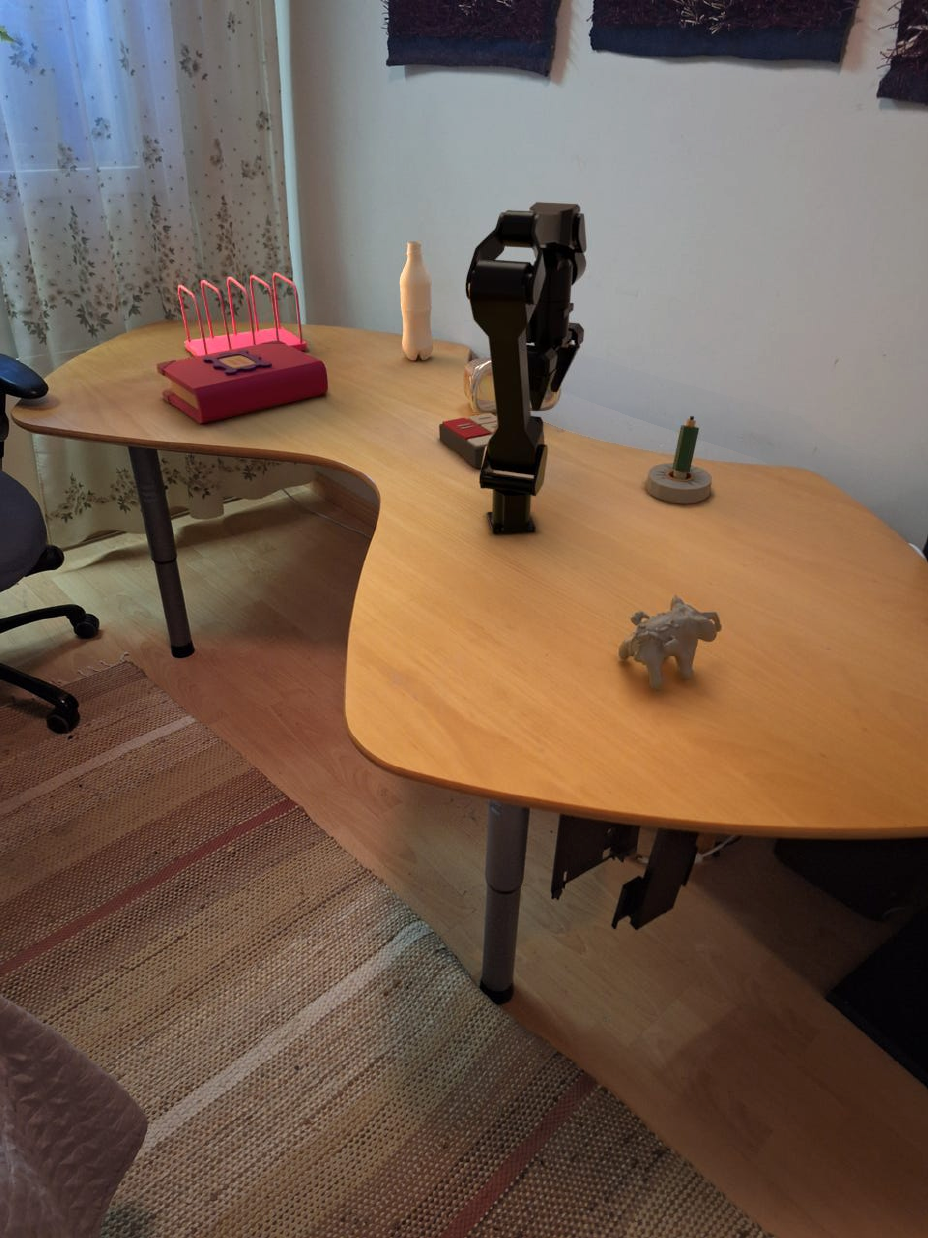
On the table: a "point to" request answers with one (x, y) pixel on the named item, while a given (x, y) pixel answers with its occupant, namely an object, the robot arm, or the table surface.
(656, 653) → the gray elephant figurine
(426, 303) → the water bottle
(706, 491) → the tape
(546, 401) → the diving goggles
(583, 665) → the table surface
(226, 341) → the file sorter
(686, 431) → the pencil
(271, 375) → the book
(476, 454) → the calculator
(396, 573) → the table surface
